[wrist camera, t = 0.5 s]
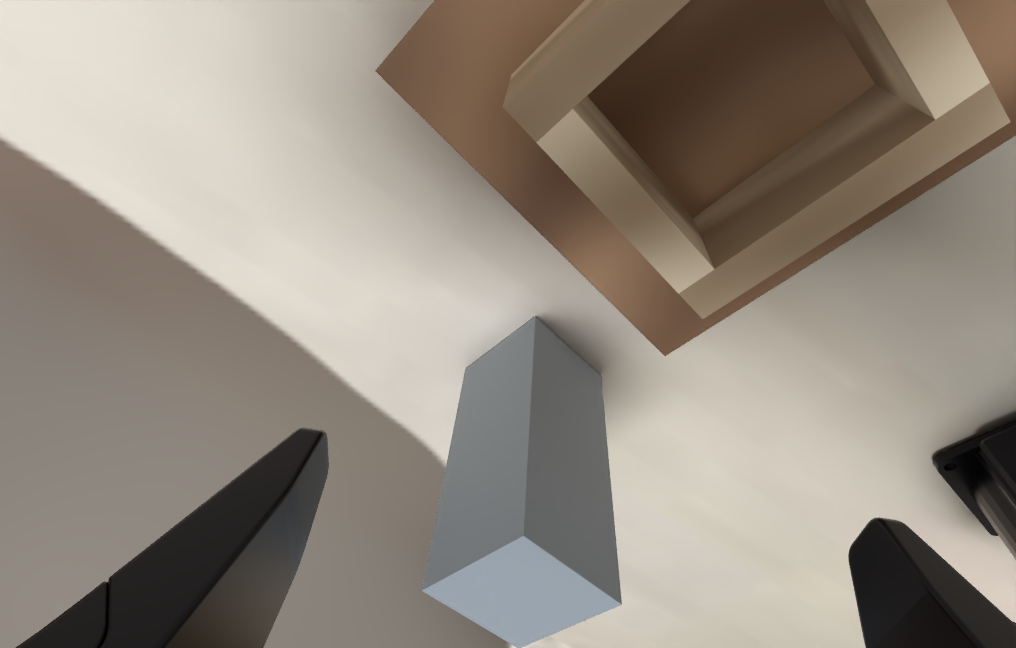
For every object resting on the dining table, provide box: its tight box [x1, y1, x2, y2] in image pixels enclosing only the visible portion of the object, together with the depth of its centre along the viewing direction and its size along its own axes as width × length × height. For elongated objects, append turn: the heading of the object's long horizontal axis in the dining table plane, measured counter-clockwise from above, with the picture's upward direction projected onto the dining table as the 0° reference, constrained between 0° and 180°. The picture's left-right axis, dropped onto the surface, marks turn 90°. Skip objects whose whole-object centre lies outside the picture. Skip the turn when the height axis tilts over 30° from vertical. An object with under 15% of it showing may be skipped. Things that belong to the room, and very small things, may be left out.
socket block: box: [376, 0, 1016, 356], centre depth 16 cm, size 14×14×4 cm
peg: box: [422, 316, 622, 648], centre depth 21 cm, size 4×4×10 cm
